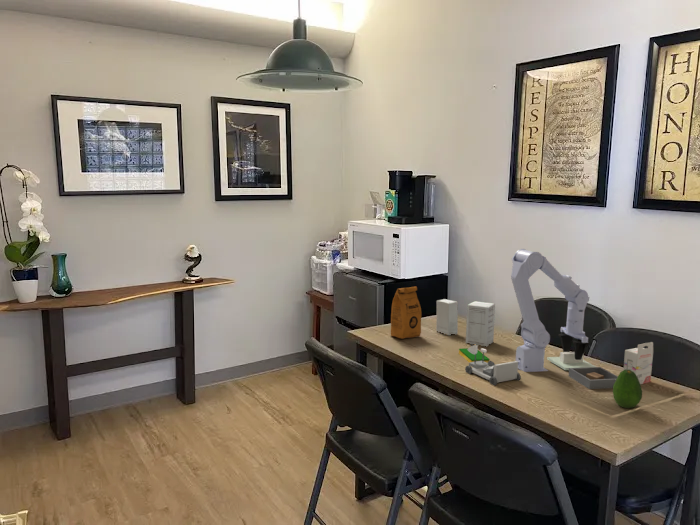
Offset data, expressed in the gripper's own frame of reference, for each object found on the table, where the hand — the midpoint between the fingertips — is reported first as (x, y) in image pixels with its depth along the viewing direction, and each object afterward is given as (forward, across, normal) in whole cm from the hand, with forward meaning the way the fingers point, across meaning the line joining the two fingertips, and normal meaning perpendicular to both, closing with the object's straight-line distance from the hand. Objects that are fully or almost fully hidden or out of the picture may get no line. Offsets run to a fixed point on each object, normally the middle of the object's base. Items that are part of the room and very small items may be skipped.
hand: (572, 356), depth 200 cm
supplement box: (+4, +33, +22) cm, 40 cm away
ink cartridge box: (+4, -18, -13) cm, 23 cm away
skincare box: (+4, +49, +31) cm, 58 cm away
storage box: (+4, -17, +2) cm, 18 cm away
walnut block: (+3, -17, +2) cm, 17 cm away
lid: (+3, 0, 0) cm, 3 cm away
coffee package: (+4, +45, +51) cm, 68 cm away
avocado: (+4, -37, +5) cm, 38 cm away
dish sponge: (+5, +13, +33) cm, 36 cm away
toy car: (+5, -5, +35) cm, 35 cm away
